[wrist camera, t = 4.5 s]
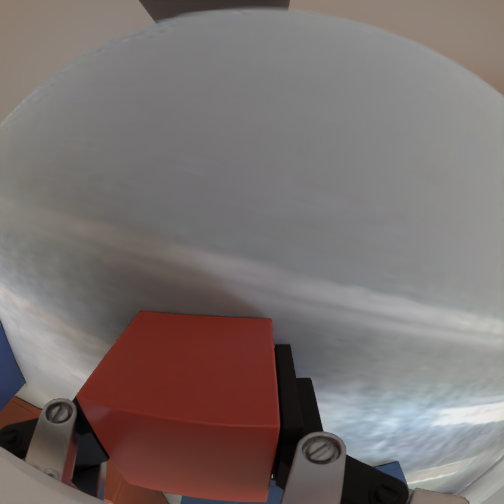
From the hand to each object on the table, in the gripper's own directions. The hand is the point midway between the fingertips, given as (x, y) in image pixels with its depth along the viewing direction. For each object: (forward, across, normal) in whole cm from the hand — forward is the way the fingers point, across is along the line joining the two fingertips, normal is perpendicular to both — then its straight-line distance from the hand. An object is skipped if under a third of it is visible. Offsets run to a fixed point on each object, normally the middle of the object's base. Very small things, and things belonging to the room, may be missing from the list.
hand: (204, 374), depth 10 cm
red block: (0, 0, 0) cm, 0 cm away
